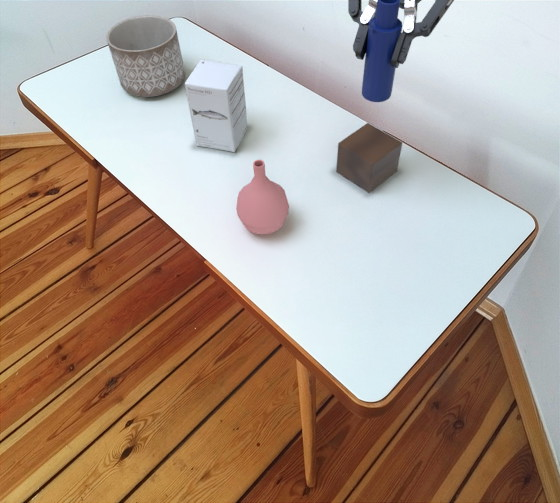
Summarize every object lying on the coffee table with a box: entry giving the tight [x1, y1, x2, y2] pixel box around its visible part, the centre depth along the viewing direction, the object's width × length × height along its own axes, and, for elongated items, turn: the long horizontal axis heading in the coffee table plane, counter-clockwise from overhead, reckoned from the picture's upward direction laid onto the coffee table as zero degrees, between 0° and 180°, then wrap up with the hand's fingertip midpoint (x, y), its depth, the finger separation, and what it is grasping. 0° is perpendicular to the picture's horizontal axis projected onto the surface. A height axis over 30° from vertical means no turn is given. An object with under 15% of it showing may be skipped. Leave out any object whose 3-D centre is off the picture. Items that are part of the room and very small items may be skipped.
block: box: [335, 122, 403, 194], centre depth 82 cm, size 7×7×6 cm
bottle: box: [361, 0, 403, 103], centre depth 66 cm, size 4×4×13 cm
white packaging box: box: [184, 59, 248, 153], centre depth 86 cm, size 7×7×13 cm
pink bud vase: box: [235, 159, 290, 235], centre depth 73 cm, size 8×8×12 cm
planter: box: [105, 14, 186, 98], centre depth 98 cm, size 13×13×10 cm
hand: (376, 61), depth 65 cm, fingers closed on bottle, 4 cm apart
